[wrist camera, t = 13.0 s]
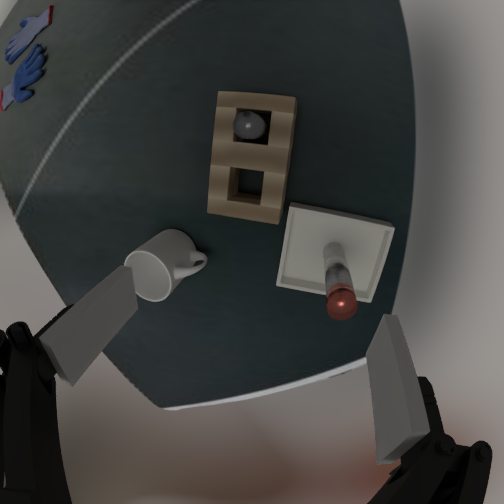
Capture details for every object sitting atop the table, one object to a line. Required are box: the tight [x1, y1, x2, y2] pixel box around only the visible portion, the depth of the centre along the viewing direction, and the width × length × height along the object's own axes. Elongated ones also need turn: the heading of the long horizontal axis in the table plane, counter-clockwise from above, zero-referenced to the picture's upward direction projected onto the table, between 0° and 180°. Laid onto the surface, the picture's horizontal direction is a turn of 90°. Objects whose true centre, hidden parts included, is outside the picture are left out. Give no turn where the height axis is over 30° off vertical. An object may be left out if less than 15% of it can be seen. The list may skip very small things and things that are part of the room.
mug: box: [124, 229, 207, 302], centre depth 43 cm, size 9×12×11 cm
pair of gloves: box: [0, 5, 54, 111], centre depth 35 cm, size 32×26×4 cm
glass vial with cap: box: [323, 242, 358, 320], centre depth 35 cm, size 3×3×16 cm
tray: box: [276, 202, 395, 303], centre depth 41 cm, size 13×16×3 cm
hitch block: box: [207, 91, 298, 225], centre depth 36 cm, size 17×10×6 cm, turn 173°
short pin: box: [233, 111, 270, 139], centre depth 33 cm, size 3×3×9 cm
